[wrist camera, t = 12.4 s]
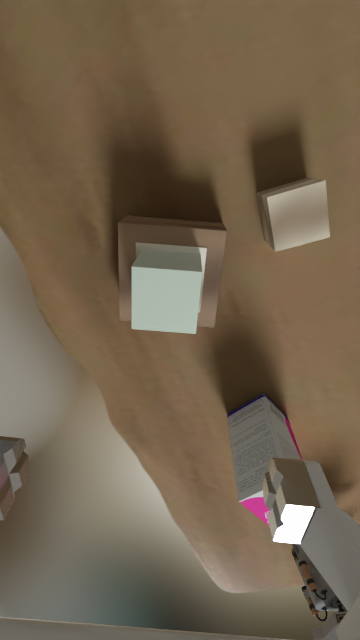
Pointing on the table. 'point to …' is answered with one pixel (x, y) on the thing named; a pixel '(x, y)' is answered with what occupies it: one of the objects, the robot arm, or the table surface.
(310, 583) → the figurine
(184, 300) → the sage block
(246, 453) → the supplement box
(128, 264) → the walnut base
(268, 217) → the block
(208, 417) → the table surface
